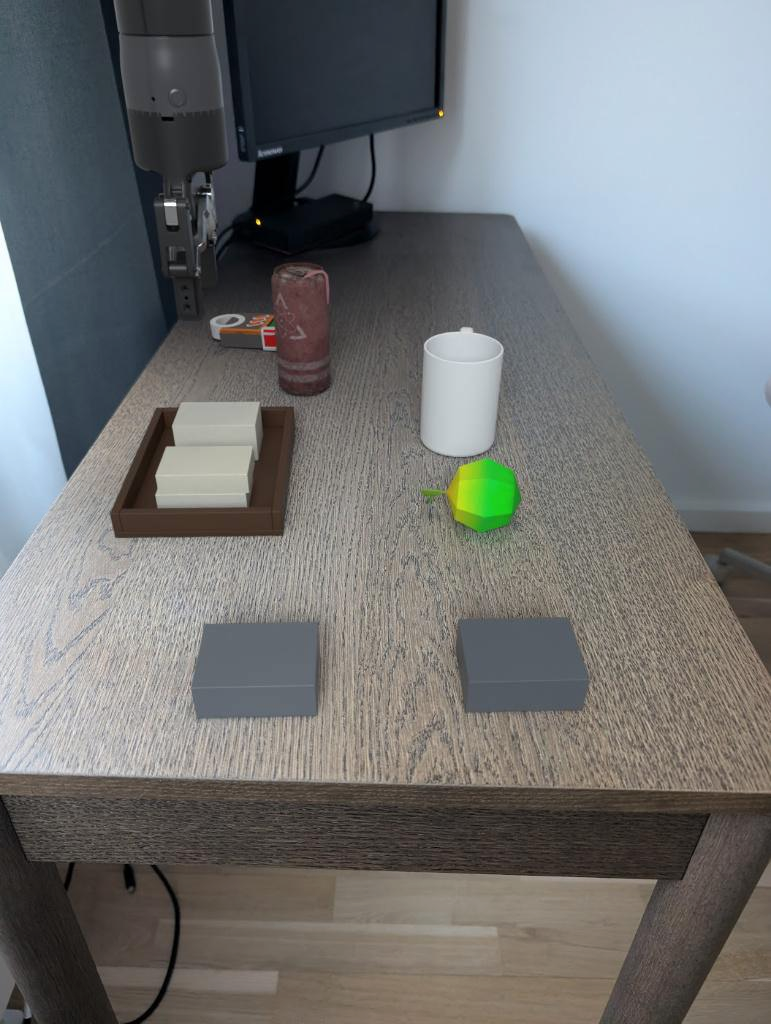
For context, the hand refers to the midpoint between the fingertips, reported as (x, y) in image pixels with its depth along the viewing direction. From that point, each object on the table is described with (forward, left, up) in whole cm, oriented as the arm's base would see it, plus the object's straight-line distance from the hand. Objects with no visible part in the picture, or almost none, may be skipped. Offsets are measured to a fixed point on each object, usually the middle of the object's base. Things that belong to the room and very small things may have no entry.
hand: (199, 302), depth 70 cm
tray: (0, -4, -16) cm, 17 cm away
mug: (+25, +5, -16) cm, 30 cm away
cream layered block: (0, -9, -16) cm, 18 cm away
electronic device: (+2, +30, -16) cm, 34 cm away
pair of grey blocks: (+16, -31, -16) cm, 39 cm away
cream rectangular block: (0, 0, -16) cm, 15 cm away
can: (+8, +16, -16) cm, 24 cm away
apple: (+24, -12, -16) cm, 32 cm away
